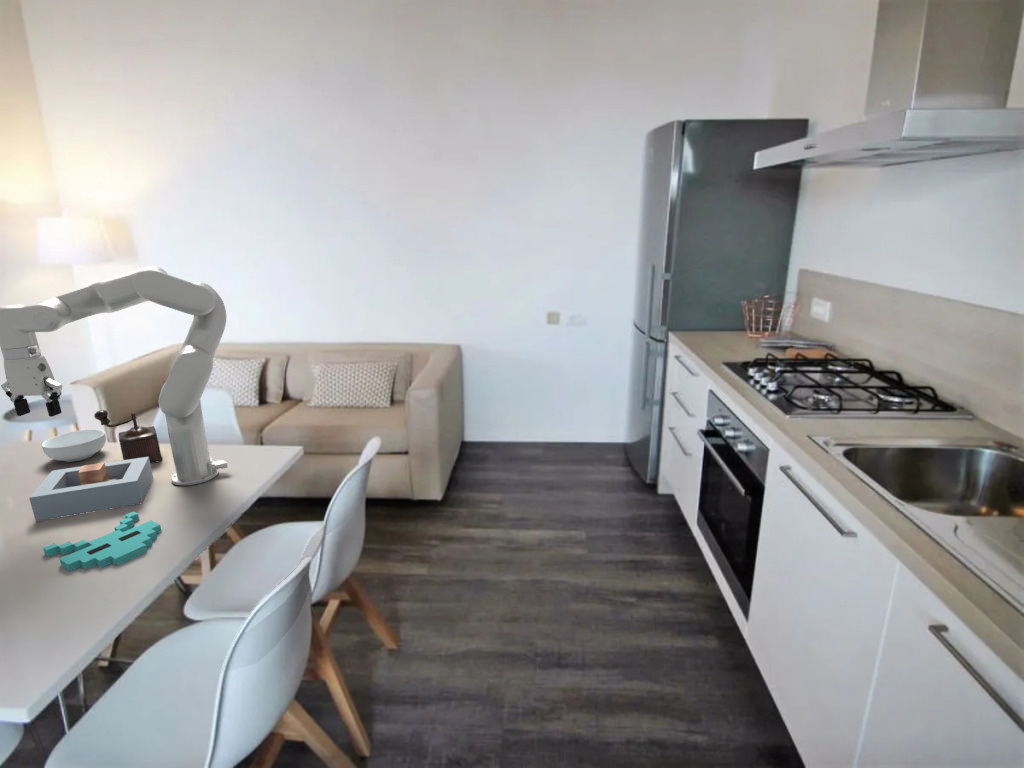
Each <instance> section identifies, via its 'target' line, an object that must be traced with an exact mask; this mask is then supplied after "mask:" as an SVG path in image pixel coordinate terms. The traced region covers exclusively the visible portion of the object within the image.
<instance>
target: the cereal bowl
mask: <svg viewBox="0 0 1024 768" xmlns="http://www.w3.org/2000/svg"><path fill="white" fill-rule="evenodd" d="M106 436H107V435H106V433H105V431H104V430H102V429H97V428H96V429H94V428H92V429H79V430H73V431H70V432H66V433H61V434H59V435H55V436H53V437H50V438H48V439H46V440H44V441H43V442H42V444H41V449H42V451H43V453H44V454H45V455H46V457H48V458H49V459H51V460H55V461H62V462H63V461H64V462H67V463H71V462H72V463H74V462H79V461H84V460H87V459H89V458H91V457H93V455H94V454H96V453H98V452H100V451H101V450H102V449H103V448H104V446H105V445H106V441H107V437H106Z"/></svg>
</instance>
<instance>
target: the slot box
mask: <svg viewBox="0 0 1024 768" xmlns="http://www.w3.org/2000/svg"><path fill="white" fill-rule="evenodd" d="M104 463H105V467H106V471H107V475H108V480H109V481H106V482H100V483H93V484H87V485H81V481H80V477H79V473H78V472H79V471H80V470H81V468H82V467H83V466H84V465H82V466H75V467H69V468H68V467H67V468H62V469H54V470H51V471H50V472H49V474H47V476H46V478H44V479H43V481H42V482H41V483H40V484H39V485H38V486H37V488H36V489H35V490H34V491H33V492H32V494H31V495H30V496H29V497H28V499H29V502H30V506H31V509H32V512H33V513H32V514H33V516H34V520H35V522H36V521H37V522H43V521H47V520H46V519H49V520H52V519H51V518H55V519H58V518H57V517H61V516H66V517H68V516H67V515H72V516H75V515H74V514H78V515H81V514H80V513H84V514H87V513H86V512H90V513H94V512H93V511H96V512H100V510H101V511H107V510H111V509H110V508H113V509H118V508H117V507H119V508H123V507H122V506H125V507H129V506H128V505H131V506H134V505H133V504H136V505H141V504H140V503H142V504H143V502H144V499H145V498H144V497H146V495H147V494H148V491H147V490H149V489H150V486H151V484H152V482H153V479H154V476H153V471H152V465H151V464H150V460H149V457H143V458H136V459H129V460H123V459H122V460H117V461H110V462H104ZM151 481H152V482H151ZM150 483H151V484H150ZM106 509H107V510H106ZM61 518H62V517H61ZM42 520H43V521H42Z"/></svg>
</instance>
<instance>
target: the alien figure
mask: <svg viewBox="0 0 1024 768" xmlns="http://www.w3.org/2000/svg"><path fill="white" fill-rule="evenodd" d="M136 520H137V521H139V520H140V515H139V513H138V512H135V511H131V512H129V513H126V514H124V519H121V520H119V524H118V525H117V526H114V527H113V529H114V531H112V532H110V533H107V534H105V535H103V536H100V537H98V538H95V539H93V540H90V541H87V540H86V539H82V540H80V541H77V542H74V543H73V542H71V541H66V542H64V543H61V544H59V545H58V544H56V543H55V542H54V543H51V544H49V545H45V546H44V547H42V550H43V553H44V555H46V557H48V558H50V557H51V556H54V555H57V554H59V553H60V554H61V555H63V556H62V557H60V558H59V563H60V566H61V567H63V568H64V569H66V570H67V571H68V572H71V571H75V570H76V569H79V568H82V569H84V570H88V569H90V568H93V567H94V566H98V567H100V568H103V567H106V566H107V565H110V564H114V565H115V566H119V565H121V564H123V563H125V562H127V561H130V560H132V559H134V558H136V557H139V556H140V555H143V554H145V553H147V552H148V547H150V546H152V545H153V541H152V540H155V539H157V538H158V535H157V534H158V533H160V532H162V527H161V524H159V523H158V522H156V521H154V520H148V521H146V522H143V523H142V524H139V525H136V526H134V525H135V522H137V521H136ZM134 521H135V522H134ZM72 551H73V553H72ZM65 555H66V556H65Z"/></svg>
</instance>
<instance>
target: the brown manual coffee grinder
mask: <svg viewBox="0 0 1024 768" xmlns="http://www.w3.org/2000/svg"><path fill="white" fill-rule="evenodd" d="M93 417H94V419H95V420H97V421H100V426H105V427H107V428H115V427H118V426H122V425H125V424H128V423H130V422H132V423H133V426H132V427H130V428H129V429H127V430H126V431H121V432H118V442H119V446H120V450H121V454H122V460H129V459H136V458H143V457H149V460H150V463H151V464H153V463H152V462H155V463H157V462H156V461H159V462H162V461H163V456H162V452H161V449H160V448H161V447H160V444H159V439H158V435H157V430H156V428H155V426H154V425H153V426H140V425H139V426H138V422H137V419H138V417H137V416H136V412H131V413H130V417H131V418H129V419H127V420H124V421H121V422H117V423H114V424H113V423H112V424H110V423H111V420H110V419H109V418H108V417H109V412H108V411H107V410H105V409H100V410H98V411H96V412H95V413H94V415H93ZM161 460H162V461H161Z"/></svg>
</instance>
